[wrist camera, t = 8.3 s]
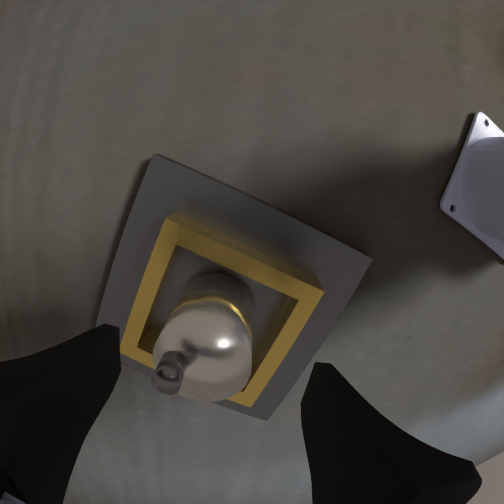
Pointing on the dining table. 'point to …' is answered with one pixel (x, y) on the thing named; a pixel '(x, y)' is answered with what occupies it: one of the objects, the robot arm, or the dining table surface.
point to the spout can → (206, 341)
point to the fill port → (231, 264)
